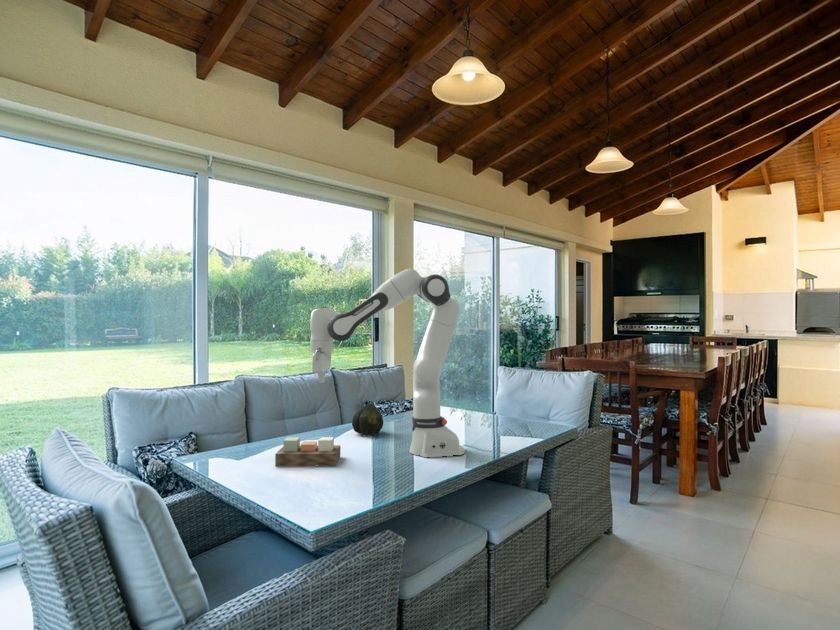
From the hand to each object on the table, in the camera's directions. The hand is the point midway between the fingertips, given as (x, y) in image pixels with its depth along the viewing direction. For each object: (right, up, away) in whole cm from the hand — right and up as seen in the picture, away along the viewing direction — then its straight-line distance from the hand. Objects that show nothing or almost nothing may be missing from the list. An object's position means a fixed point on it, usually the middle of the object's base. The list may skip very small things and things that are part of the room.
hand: (321, 382), depth 196 cm
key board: (-3, -29, -10) cm, 30 cm away
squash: (+15, -29, +35) cm, 48 cm away
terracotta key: (-3, -27, -10) cm, 29 cm away
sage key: (-9, -25, -10) cm, 29 cm away
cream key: (+4, -25, -10) cm, 27 cm away
